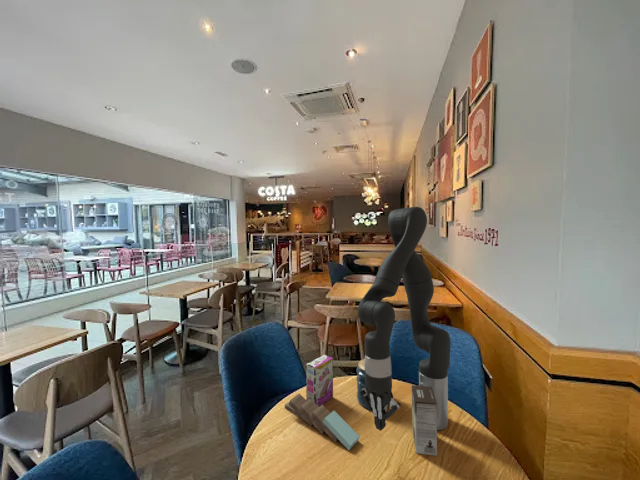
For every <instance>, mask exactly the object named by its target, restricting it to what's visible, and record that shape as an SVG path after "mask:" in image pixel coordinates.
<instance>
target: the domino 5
mask: <svg viewBox="0 0 640 480" xmlns="http://www.w3.org/2000/svg"><path fill="white" fill-rule="evenodd" d="M323 423H324V424H325V425H326V426H327V427H328V429H329V430H330V431H331V432H332V433H333V434H334V435H335V436H336V437H337V438H338V440H339V442H340V443H341V444H342V445H343V446H344V447H345V448H346V449H347V450H348V451H350V450H351V449H352V448H353V447H354V446H355V445H356V444H357V443H358V441H359V439H360V435H359V434H358V433H357V432H356V431H355V429H353V428H352V427H351V425H349V423H347V422H346V421H345V420H344V419H343V418H342V417H341V416H340V414H338V412H336V410H332V412H330V414H329V415H328V416H327V417H325V419H324V421H323Z"/></svg>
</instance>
